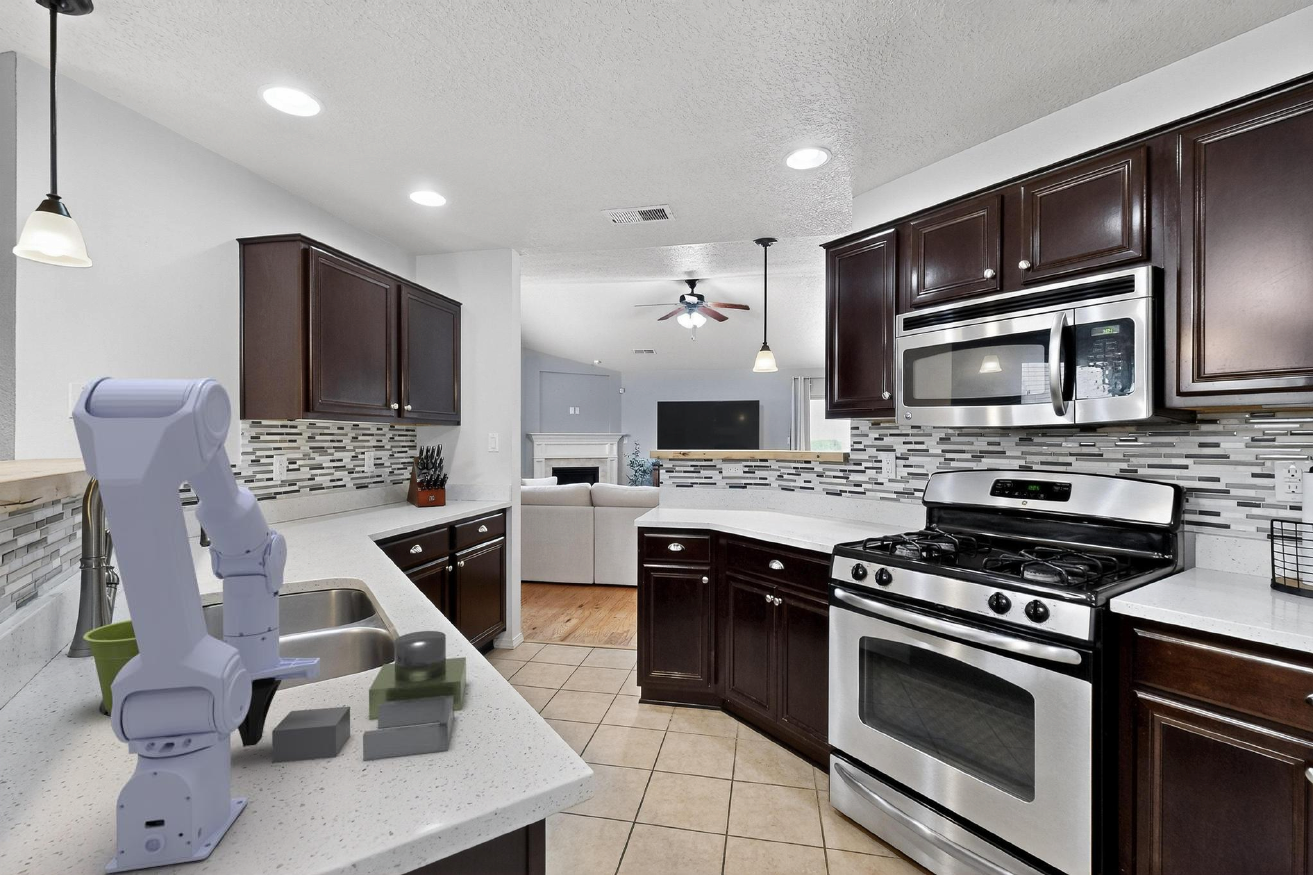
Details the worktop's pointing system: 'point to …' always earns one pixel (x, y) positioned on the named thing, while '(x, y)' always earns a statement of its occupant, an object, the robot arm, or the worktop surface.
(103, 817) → the worktop surface
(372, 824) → the worktop surface
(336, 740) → the grey block
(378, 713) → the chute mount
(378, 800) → the worktop surface
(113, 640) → the plant pot
